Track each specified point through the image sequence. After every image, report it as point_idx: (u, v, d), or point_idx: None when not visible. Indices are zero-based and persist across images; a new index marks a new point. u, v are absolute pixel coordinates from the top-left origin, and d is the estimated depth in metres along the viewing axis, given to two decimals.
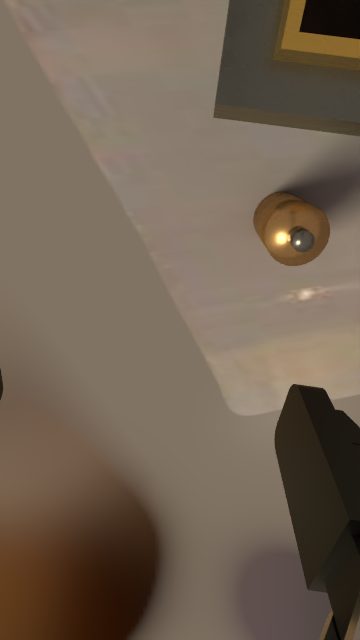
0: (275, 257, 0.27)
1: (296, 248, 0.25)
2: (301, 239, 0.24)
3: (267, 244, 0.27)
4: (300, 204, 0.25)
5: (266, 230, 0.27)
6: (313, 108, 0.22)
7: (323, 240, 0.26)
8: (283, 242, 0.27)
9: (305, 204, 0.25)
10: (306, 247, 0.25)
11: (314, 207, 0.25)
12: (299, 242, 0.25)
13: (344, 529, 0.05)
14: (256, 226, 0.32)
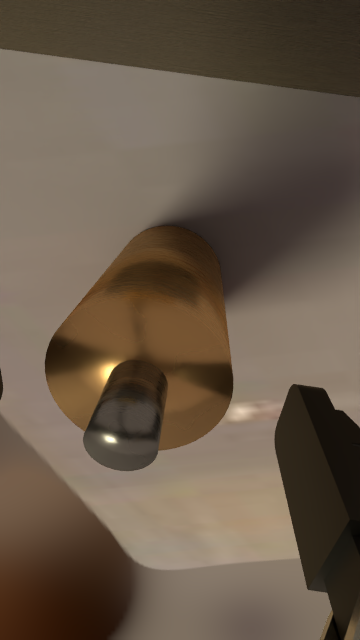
0: None
1: (101, 460, 0.07)
2: (109, 438, 0.07)
3: (58, 401, 0.09)
4: (125, 301, 0.08)
5: None
6: None
7: (217, 398, 0.09)
8: None
9: (142, 302, 0.08)
10: (133, 459, 0.07)
11: (173, 311, 0.08)
12: (105, 446, 0.07)
13: (344, 529, 0.05)
14: None
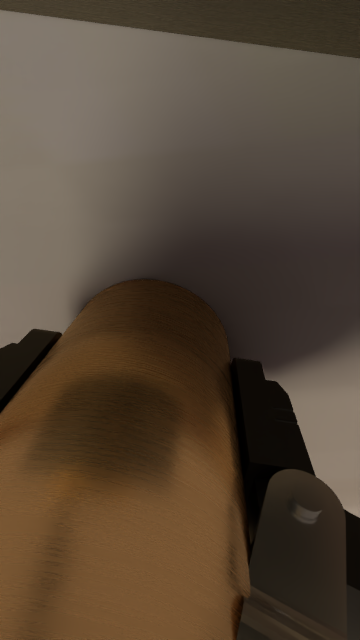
0: None
1: None
2: None
3: None
4: None
5: None
6: None
7: None
8: None
9: None
10: None
11: None
12: None
13: (246, 471, 0.06)
14: None
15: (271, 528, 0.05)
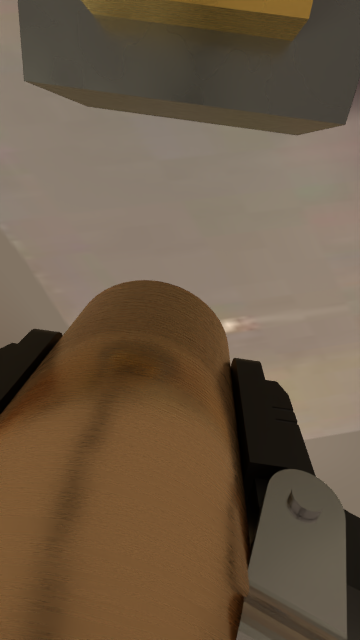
0: None
1: None
2: None
3: None
4: None
5: None
6: (162, 88, 0.15)
7: None
8: None
9: None
10: None
11: None
12: None
13: (246, 471, 0.06)
14: None
15: (271, 528, 0.05)
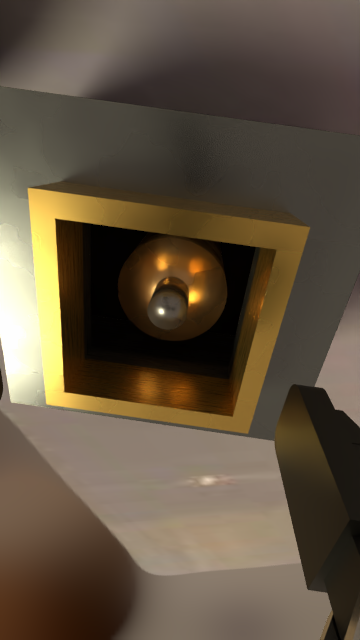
0: (141, 326, 0.16)
1: (155, 322, 0.13)
2: (161, 307, 0.13)
3: (123, 306, 0.15)
4: (168, 240, 0.14)
5: None
6: None
7: (218, 301, 0.15)
8: None
9: (177, 240, 0.14)
10: (173, 321, 0.13)
11: (193, 245, 0.14)
12: (159, 312, 0.13)
13: (344, 529, 0.05)
14: None
15: None
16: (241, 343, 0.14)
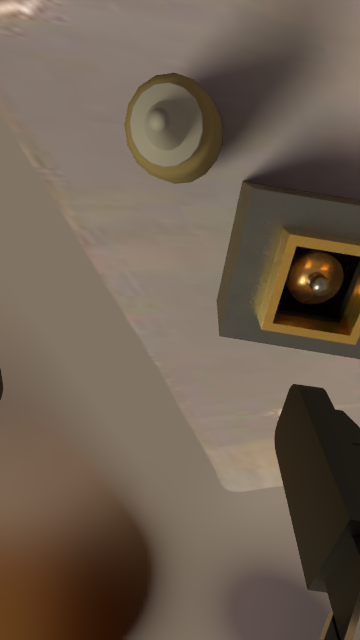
0: (295, 296, 0.32)
1: (315, 292, 0.29)
2: (320, 285, 0.29)
3: (289, 285, 0.31)
4: (319, 254, 0.30)
5: (289, 274, 0.31)
6: (283, 342, 0.33)
7: (337, 284, 0.31)
8: (303, 284, 0.31)
9: (323, 254, 0.30)
10: (324, 291, 0.29)
11: (331, 257, 0.30)
12: (318, 287, 0.29)
13: (344, 529, 0.05)
14: None
15: None
16: (352, 302, 0.30)
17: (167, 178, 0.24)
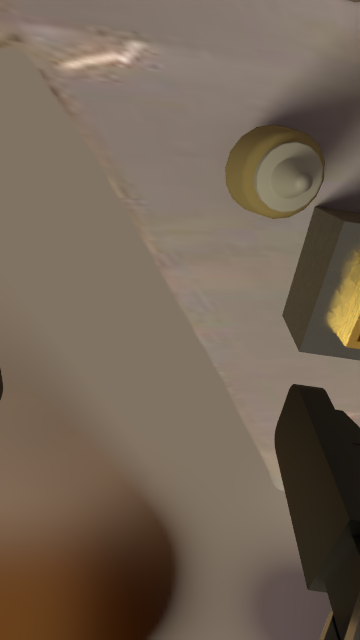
0: None
1: None
2: None
3: None
4: None
5: None
6: (359, 356, 0.35)
7: None
8: None
9: None
10: None
11: None
12: None
13: (344, 529, 0.05)
14: None
15: None
16: None
17: (274, 217, 0.27)
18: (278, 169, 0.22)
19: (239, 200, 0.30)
